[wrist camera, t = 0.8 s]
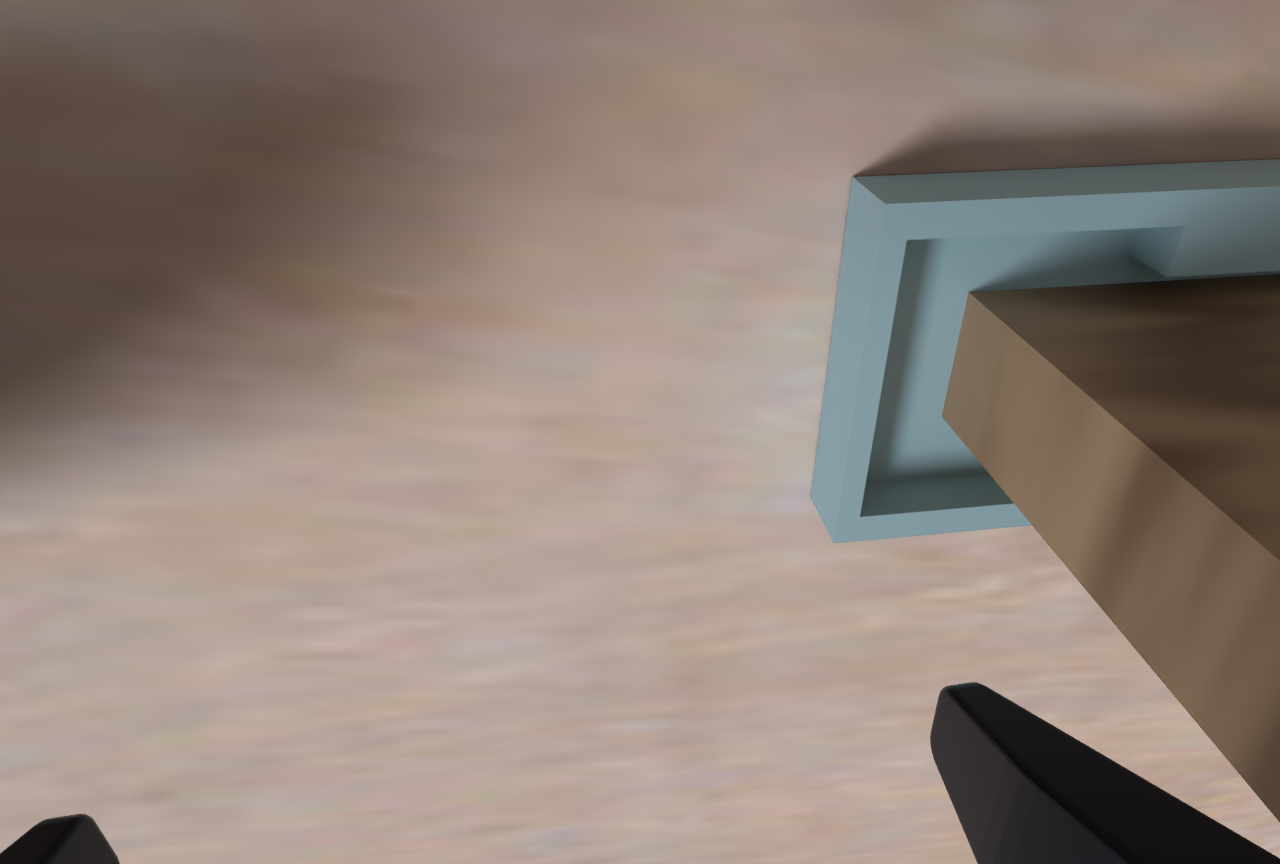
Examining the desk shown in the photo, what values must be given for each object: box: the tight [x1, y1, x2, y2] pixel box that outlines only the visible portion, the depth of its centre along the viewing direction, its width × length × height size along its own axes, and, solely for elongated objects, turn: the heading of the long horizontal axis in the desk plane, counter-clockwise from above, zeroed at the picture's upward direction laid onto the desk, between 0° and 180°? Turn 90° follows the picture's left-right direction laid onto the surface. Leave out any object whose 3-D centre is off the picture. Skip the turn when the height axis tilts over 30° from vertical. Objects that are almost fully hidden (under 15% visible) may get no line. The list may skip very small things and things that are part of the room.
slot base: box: [811, 159, 1280, 543], centre depth 21 cm, size 21×9×4 cm, turn 90°
